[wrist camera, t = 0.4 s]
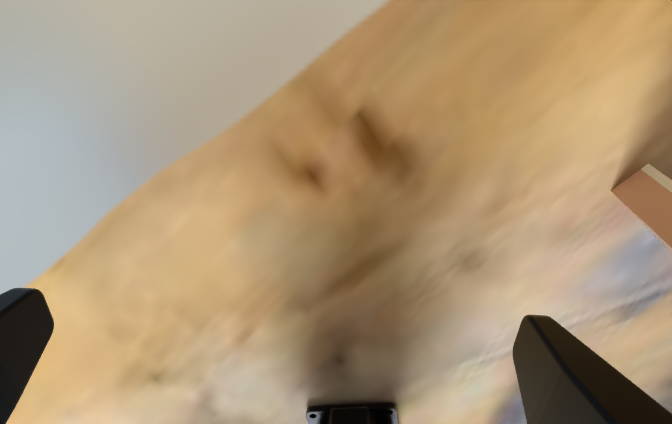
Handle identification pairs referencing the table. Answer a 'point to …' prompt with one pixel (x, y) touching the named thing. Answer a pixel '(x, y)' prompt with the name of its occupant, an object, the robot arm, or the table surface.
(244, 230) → the table surface
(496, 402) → the table surface
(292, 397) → the table surface
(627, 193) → the tile
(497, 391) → the table surface
